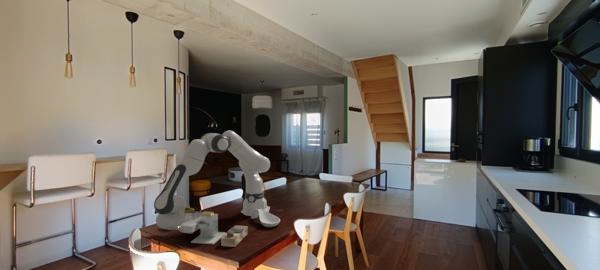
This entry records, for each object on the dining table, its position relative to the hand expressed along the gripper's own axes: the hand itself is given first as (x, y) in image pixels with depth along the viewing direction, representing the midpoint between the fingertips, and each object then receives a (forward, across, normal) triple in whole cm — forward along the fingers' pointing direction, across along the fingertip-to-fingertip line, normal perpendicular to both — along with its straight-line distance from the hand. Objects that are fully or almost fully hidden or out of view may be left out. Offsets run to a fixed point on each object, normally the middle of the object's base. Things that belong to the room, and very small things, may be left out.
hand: (210, 223), depth 142 cm
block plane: (+13, 0, +8) cm, 15 cm away
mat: (-1, 0, +8) cm, 8 cm away
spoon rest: (+20, +27, +8) cm, 35 cm away
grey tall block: (-1, 0, +6) cm, 6 cm away
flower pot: (-26, +16, +8) cm, 31 cm away
